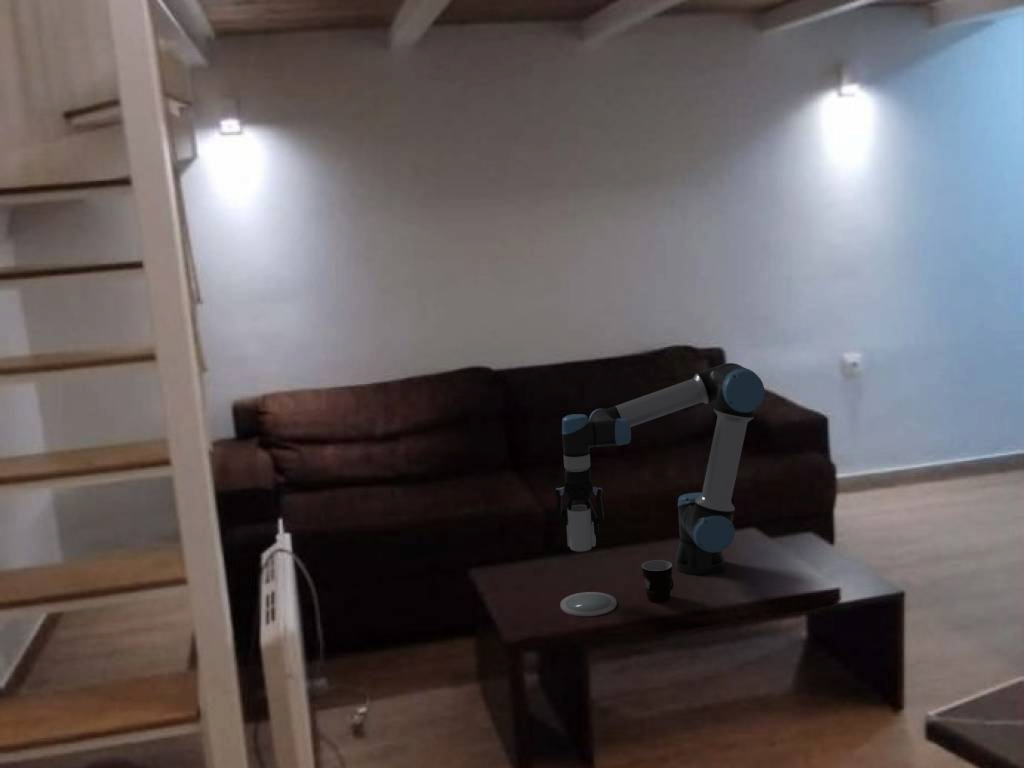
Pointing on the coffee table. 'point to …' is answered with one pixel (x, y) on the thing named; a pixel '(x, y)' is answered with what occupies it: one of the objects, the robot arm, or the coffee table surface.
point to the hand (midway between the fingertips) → (581, 544)
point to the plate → (588, 604)
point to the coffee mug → (658, 580)
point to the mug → (580, 528)
